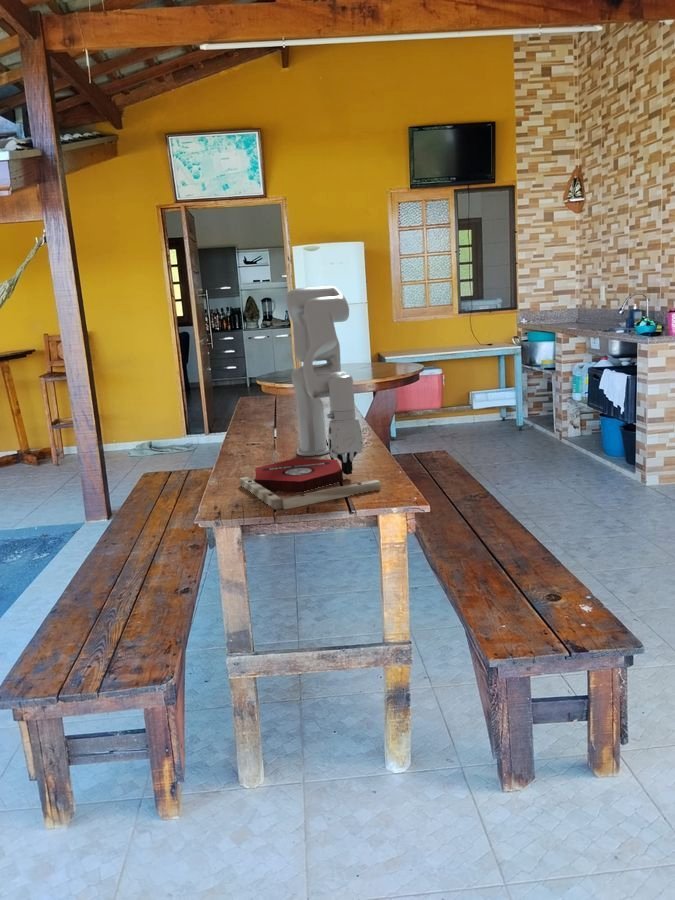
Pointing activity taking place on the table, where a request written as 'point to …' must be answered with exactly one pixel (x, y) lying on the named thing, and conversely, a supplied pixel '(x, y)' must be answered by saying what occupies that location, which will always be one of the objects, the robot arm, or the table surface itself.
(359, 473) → the table surface
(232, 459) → the table surface
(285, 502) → the corner rail
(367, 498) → the table surface
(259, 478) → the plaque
